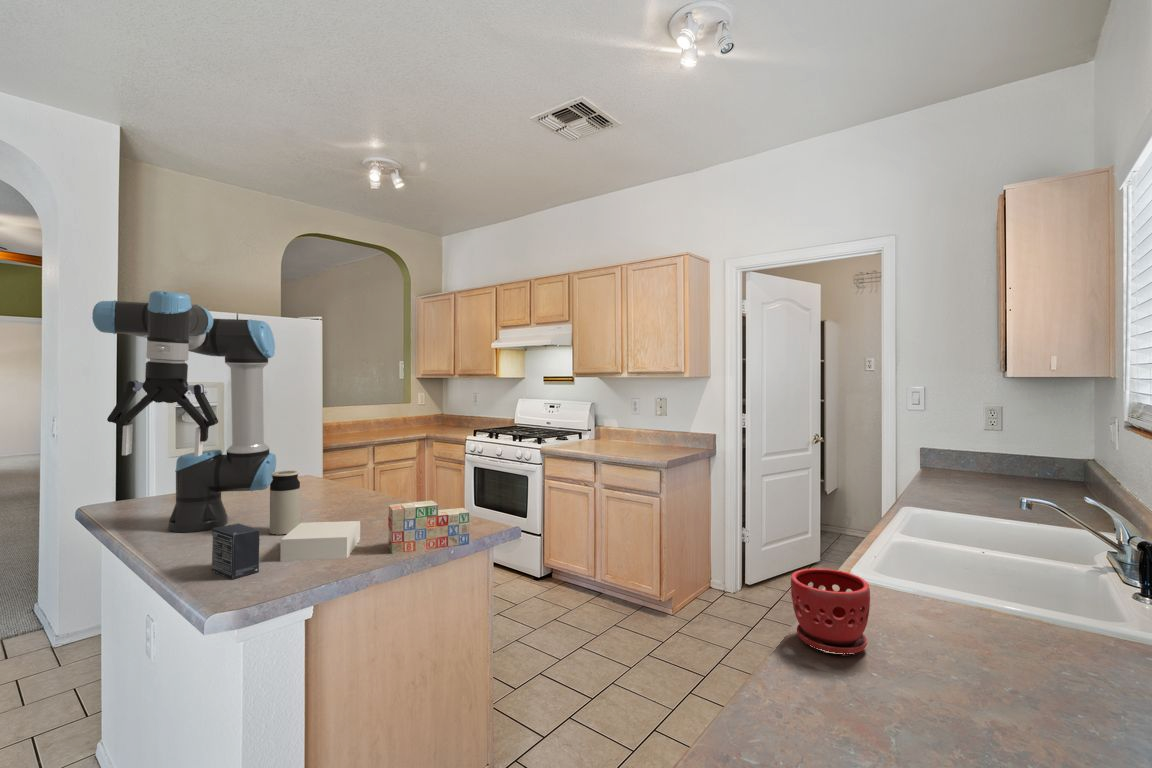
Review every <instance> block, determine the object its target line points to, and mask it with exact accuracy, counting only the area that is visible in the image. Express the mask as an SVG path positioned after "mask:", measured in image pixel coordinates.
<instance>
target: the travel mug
mask: <svg viewBox="0 0 1152 768" xmlns="http://www.w3.org/2000/svg"><path fill="white" fill-rule="evenodd" d="M299 474H300V471H298V470H280V471H275V472H273V473H272V474H271V475H272V478H273V480H272V482H271V484H270V486H269V533H270V534H272V535H274V534H276V536H283V535H282V534H286V535H287V534H288V533H289V532H290V531H292V530H293V529H294V528H295V527H296V526H298V525H299V524H300V518H301V517H300V514H301V513H300V511H301V510H300V508H301V507H300V506H301V503H300V502H301V499H300V498H301V494H300V493H301V491H300V490H301V481H300V480H299V479H298V478H299Z"/></svg>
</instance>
